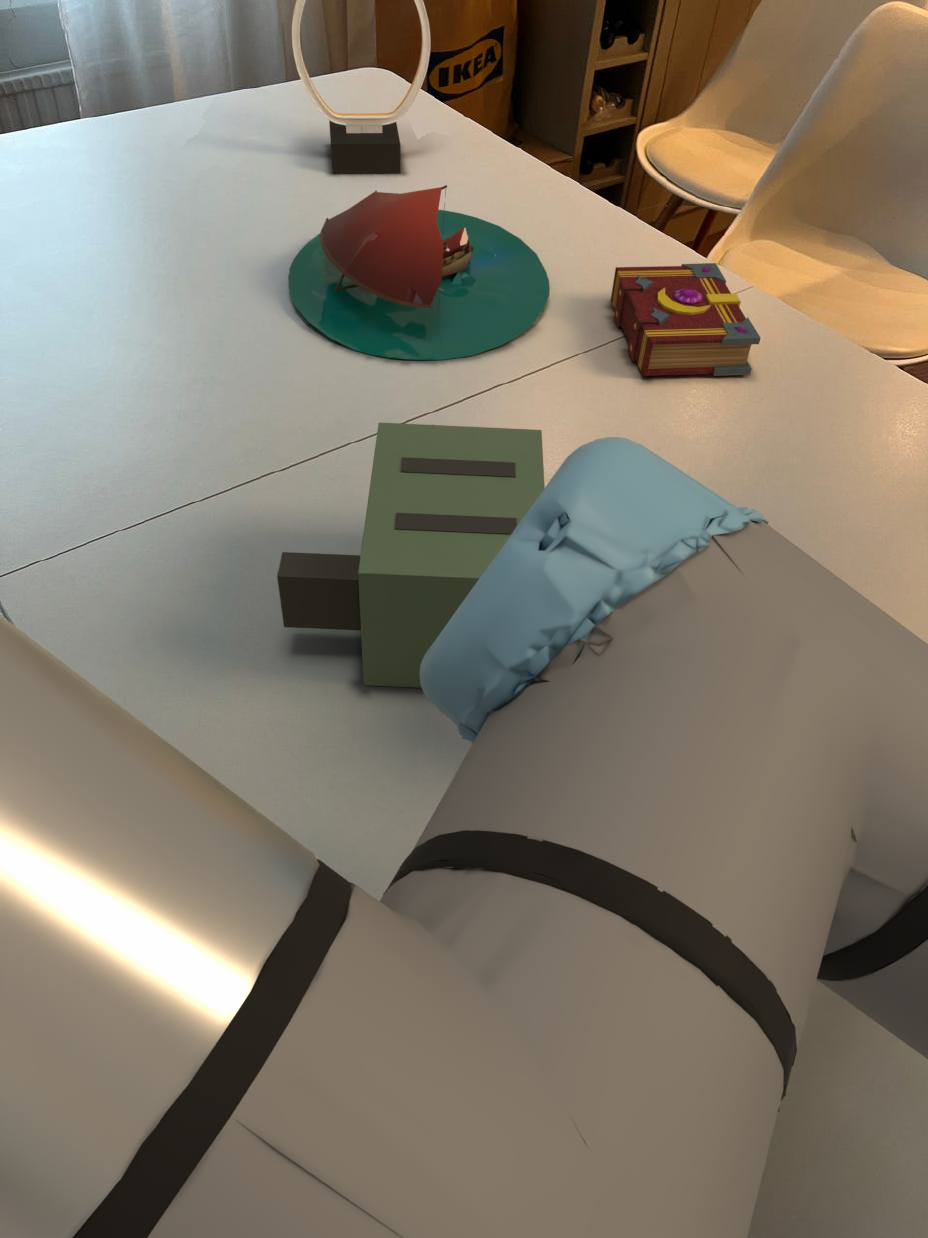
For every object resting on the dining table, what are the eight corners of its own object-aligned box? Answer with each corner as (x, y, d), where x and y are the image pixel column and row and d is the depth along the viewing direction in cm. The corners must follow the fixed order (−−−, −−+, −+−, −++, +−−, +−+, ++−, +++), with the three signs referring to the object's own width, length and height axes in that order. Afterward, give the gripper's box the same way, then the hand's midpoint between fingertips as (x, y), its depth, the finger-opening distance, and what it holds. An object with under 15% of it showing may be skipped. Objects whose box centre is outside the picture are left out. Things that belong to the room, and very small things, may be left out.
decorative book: (639, 381, 99) (648, 335, 95) (604, 298, 110) (611, 254, 106) (750, 377, 100) (763, 332, 96) (704, 296, 111) (714, 253, 107)
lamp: (424, 145, 136) (428, -143, 113) (431, 172, 130) (436, -126, 107) (300, 146, 134) (278, -147, 112) (301, 173, 128) (278, -130, 105)
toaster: (362, 685, 70) (357, 571, 62) (380, 534, 81) (377, 420, 73) (533, 692, 71) (549, 580, 63) (528, 540, 82) (541, 428, 74)
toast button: (283, 627, 70) (276, 576, 66) (288, 603, 72) (282, 551, 68) (361, 631, 70) (358, 579, 66) (364, 606, 72) (361, 555, 68)
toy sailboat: (242, 271, 110) (227, 173, 102) (445, 197, 122) (448, 103, 113) (386, 408, 97) (383, 309, 88) (600, 312, 108) (616, 215, 100)
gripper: (1247, 760, 33) (924, 718, 54) (490, 727, 32) (464, 697, 53) (1243, 991, 33) (920, 858, 54) (480, 965, 32) (457, 839, 53)
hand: (693, 778), depth 54 cm, fingers open, 13 cm apart
